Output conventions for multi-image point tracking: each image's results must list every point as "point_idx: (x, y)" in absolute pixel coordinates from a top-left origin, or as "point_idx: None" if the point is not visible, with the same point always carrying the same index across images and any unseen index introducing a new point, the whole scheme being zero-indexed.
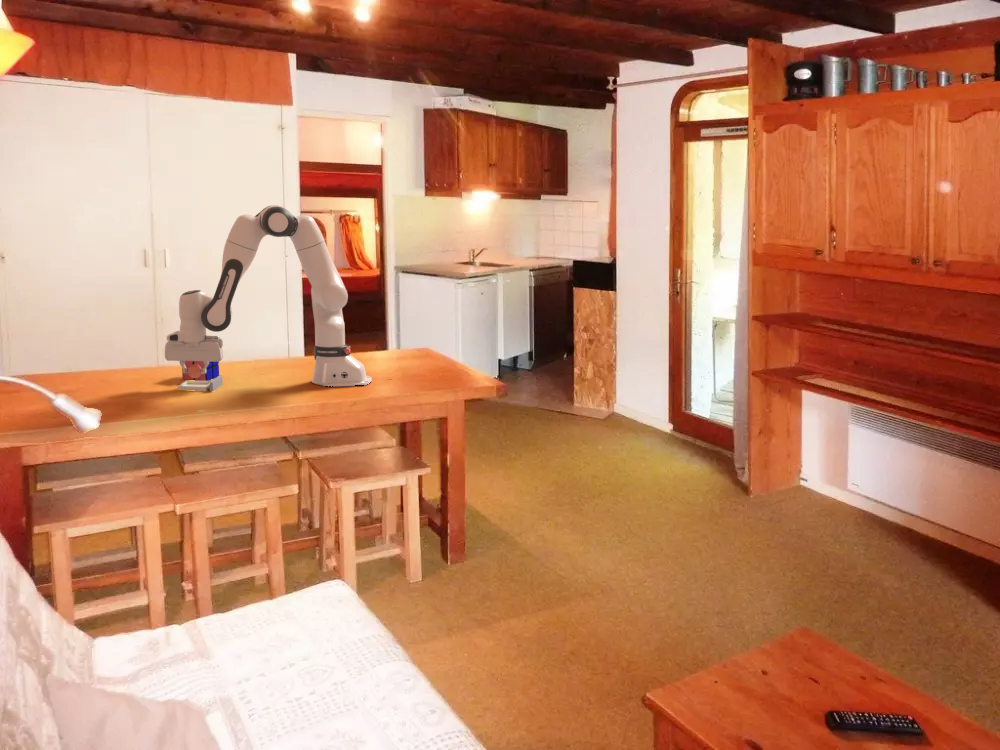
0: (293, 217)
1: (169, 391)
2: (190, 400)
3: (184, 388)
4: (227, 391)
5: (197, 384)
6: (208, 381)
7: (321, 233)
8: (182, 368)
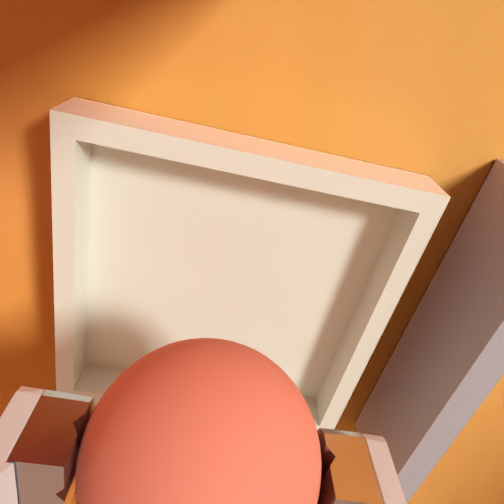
0: None
1: (6, 370)
2: None
3: None
4: (490, 423)
5: (225, 175)
6: (371, 202)
7: None
8: None
